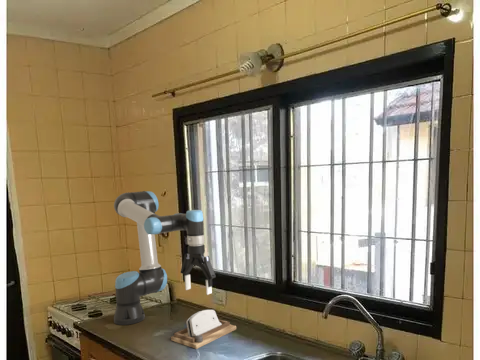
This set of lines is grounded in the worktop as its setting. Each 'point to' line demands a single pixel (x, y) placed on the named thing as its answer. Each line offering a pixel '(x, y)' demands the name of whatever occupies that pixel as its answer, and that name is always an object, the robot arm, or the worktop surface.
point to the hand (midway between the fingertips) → (198, 291)
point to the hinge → (202, 322)
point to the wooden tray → (203, 335)
